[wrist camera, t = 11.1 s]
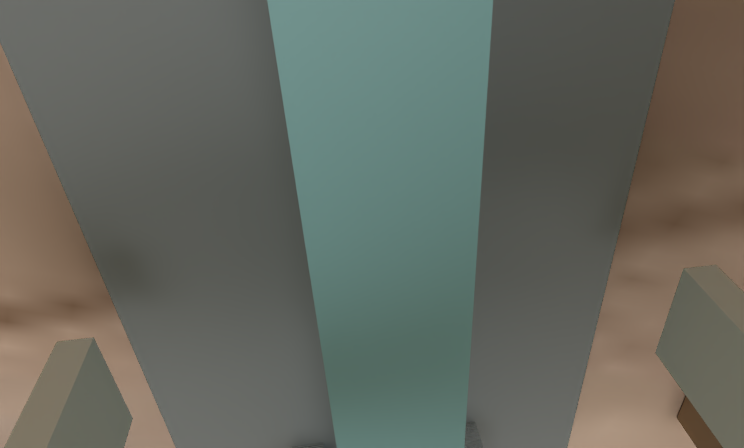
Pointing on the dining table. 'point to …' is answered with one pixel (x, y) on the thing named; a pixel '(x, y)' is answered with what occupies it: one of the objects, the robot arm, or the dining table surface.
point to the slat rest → (696, 427)
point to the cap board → (282, 213)
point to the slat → (389, 203)
